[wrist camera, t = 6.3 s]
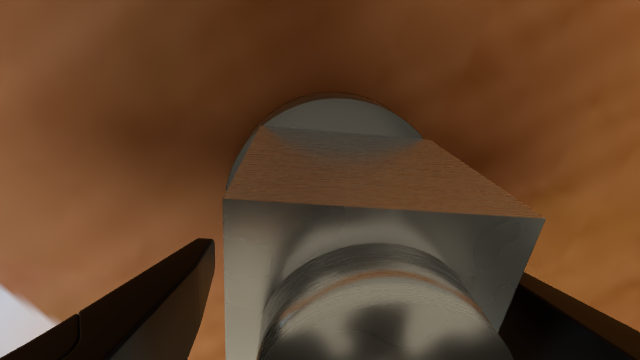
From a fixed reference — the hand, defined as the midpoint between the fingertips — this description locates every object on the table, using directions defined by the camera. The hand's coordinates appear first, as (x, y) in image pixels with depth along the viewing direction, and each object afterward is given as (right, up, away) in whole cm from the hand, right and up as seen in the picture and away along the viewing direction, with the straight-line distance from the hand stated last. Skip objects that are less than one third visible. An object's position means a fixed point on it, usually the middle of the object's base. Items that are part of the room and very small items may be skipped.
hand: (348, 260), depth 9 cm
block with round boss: (0, +1, +3) cm, 3 cm away
